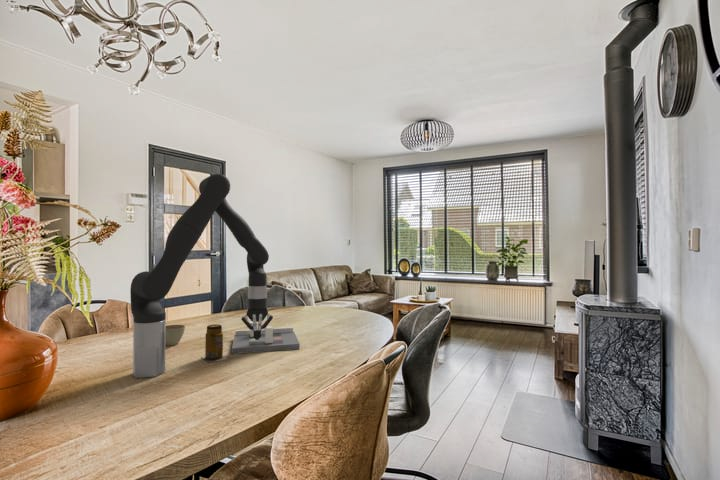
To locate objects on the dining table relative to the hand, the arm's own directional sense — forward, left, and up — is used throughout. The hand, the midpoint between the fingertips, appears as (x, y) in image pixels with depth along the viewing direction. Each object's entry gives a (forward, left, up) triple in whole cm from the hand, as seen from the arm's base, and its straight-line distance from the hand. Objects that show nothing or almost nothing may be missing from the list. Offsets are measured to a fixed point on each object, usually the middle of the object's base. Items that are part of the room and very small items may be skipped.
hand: (257, 339), depth 152 cm
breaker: (+12, +1, -1) cm, 12 cm away
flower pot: (+16, +34, -4) cm, 38 cm away
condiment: (-9, +15, -4) cm, 18 cm away
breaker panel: (+6, -4, -4) cm, 8 cm away
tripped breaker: (0, -5, -1) cm, 5 cm away
